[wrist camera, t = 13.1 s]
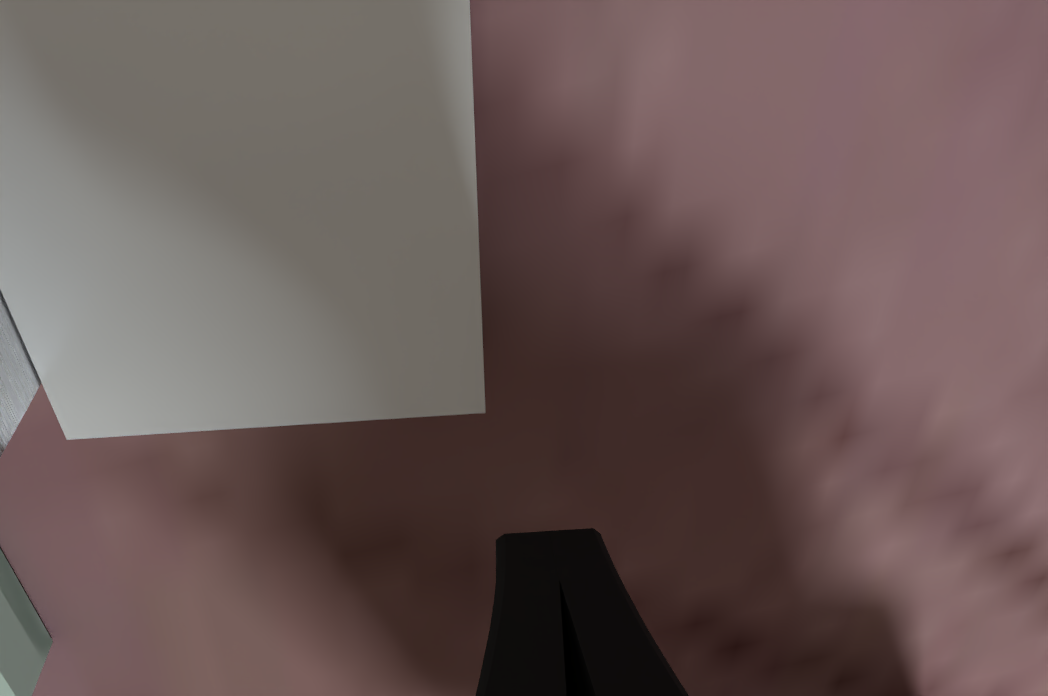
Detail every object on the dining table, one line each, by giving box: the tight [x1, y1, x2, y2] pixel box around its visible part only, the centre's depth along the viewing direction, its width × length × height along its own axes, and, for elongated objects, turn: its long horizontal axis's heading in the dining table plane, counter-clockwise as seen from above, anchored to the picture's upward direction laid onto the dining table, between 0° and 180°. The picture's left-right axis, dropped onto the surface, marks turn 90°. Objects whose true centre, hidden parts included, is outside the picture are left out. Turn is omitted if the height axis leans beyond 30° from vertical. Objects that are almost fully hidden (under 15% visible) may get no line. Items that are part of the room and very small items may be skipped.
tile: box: [0, 0, 485, 440], centre depth 11 cm, size 6×7×2 cm
